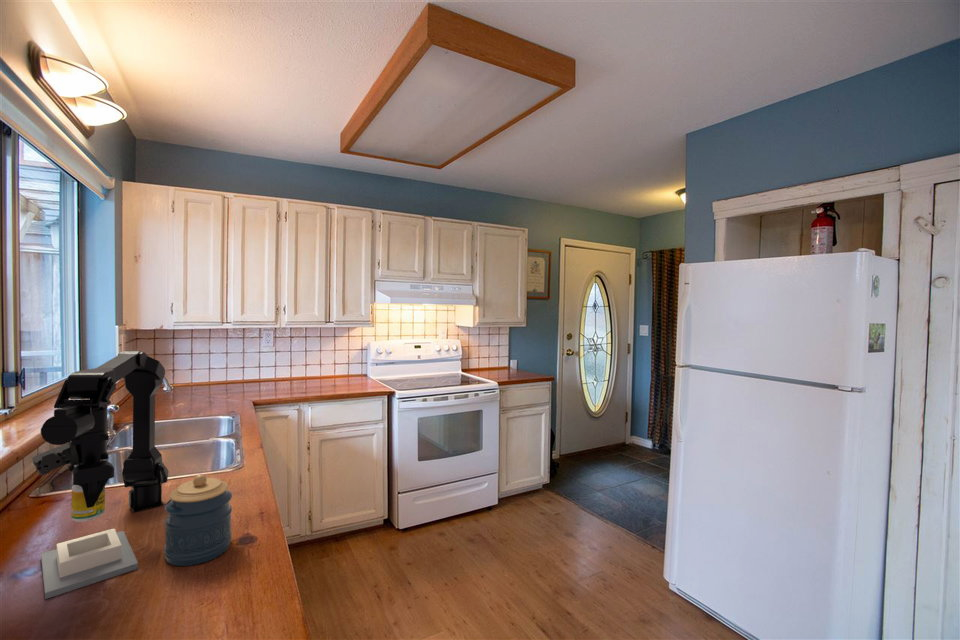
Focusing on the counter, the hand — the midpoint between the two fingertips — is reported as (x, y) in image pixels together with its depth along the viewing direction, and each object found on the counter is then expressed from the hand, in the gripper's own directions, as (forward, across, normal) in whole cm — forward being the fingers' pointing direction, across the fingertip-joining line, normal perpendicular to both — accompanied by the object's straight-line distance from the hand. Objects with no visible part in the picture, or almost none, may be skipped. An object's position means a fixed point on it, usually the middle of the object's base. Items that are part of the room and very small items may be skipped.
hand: (88, 502), depth 94 cm
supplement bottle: (+3, 0, 0) cm, 3 cm away
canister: (+14, +10, +18) cm, 25 cm away
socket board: (+13, 0, 0) cm, 13 cm away
